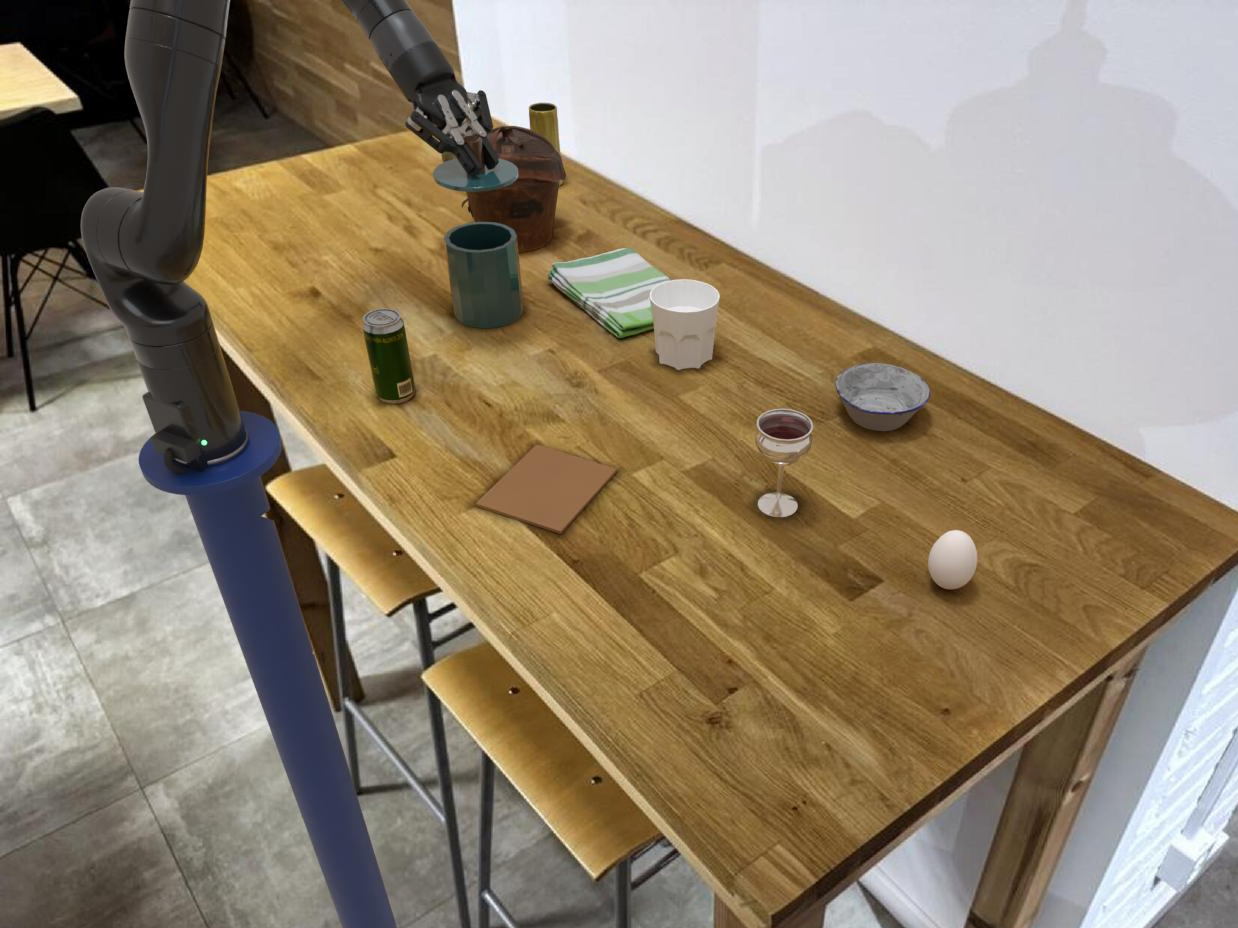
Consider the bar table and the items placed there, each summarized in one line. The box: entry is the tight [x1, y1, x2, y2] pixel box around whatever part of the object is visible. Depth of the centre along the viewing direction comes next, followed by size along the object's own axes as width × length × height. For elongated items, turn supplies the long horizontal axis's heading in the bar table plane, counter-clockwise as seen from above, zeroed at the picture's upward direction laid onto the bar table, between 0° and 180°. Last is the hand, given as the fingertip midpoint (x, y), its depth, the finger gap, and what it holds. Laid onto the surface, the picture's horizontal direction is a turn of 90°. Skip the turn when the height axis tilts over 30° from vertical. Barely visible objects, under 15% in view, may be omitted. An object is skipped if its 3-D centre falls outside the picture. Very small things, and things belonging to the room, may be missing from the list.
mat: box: [475, 444, 618, 535], centre depth 134 cm, size 14×12×1 cm
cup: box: [650, 278, 721, 371], centre depth 157 cm, size 10×10×10 cm
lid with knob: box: [432, 135, 519, 193], centre depth 147 cm, size 12×12×6 cm
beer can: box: [361, 308, 416, 405], centre depth 146 cm, size 5×5×12 cm
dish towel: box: [547, 247, 672, 339], centre depth 172 cm, size 17×23×4 cm
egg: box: [927, 529, 978, 590], centre depth 121 cm, size 5×5×8 cm
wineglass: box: [754, 408, 814, 518], centre depth 129 cm, size 7×7×12 cm
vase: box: [528, 102, 565, 187], centre depth 204 cm, size 6×6×14 cm
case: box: [461, 125, 567, 253], centre depth 183 cm, size 18×20×18 cm
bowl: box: [834, 362, 931, 432], centre depth 148 cm, size 13×13×5 cm
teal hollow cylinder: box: [443, 221, 524, 329], centre depth 164 cm, size 11×11×12 cm
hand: (485, 168), depth 147 cm, fingers closed on lid with knob, 2 cm apart
